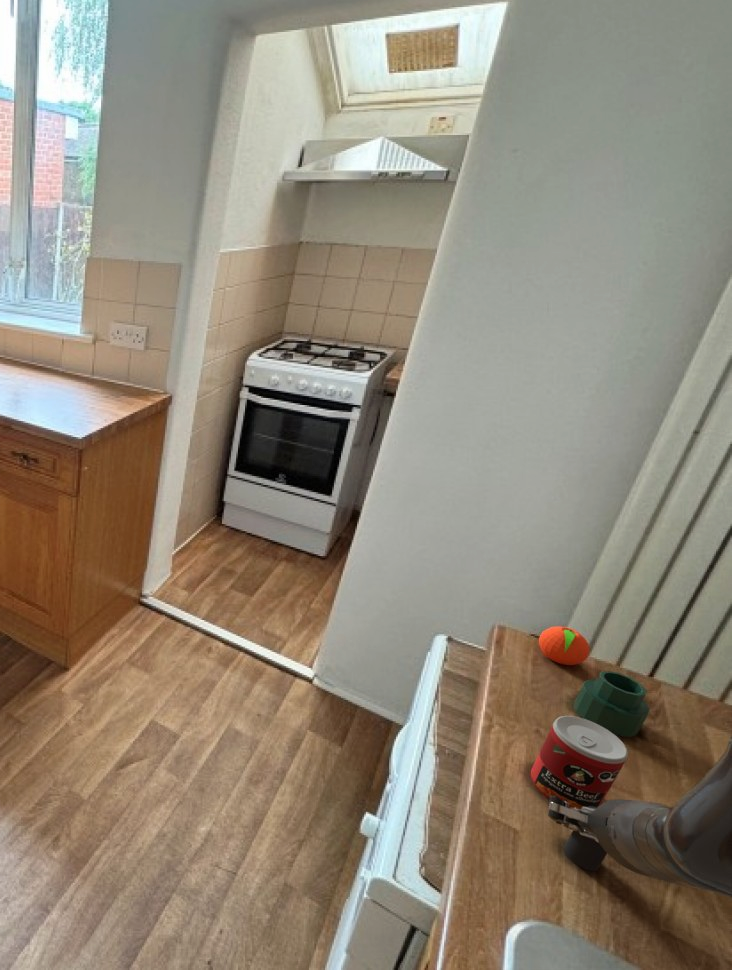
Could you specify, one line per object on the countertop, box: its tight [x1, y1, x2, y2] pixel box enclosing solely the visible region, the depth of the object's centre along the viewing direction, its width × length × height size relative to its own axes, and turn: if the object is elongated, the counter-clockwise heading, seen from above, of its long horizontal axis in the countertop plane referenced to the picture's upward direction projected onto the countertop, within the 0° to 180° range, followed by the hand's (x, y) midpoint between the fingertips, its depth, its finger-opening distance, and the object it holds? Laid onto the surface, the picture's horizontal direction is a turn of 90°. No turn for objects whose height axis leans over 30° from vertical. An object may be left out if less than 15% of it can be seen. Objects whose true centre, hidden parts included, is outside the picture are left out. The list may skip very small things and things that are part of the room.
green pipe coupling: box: [573, 670, 651, 738], centre depth 100 cm, size 8×8×8 cm
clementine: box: [538, 626, 591, 666], centre depth 113 cm, size 8×7×7 cm
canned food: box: [530, 715, 629, 809], centre depth 87 cm, size 8×8×11 cm
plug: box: [563, 806, 608, 872], centre depth 78 cm, size 3×3×8 cm
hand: (587, 827), depth 80 cm, fingers closed on plug, 3 cm apart
